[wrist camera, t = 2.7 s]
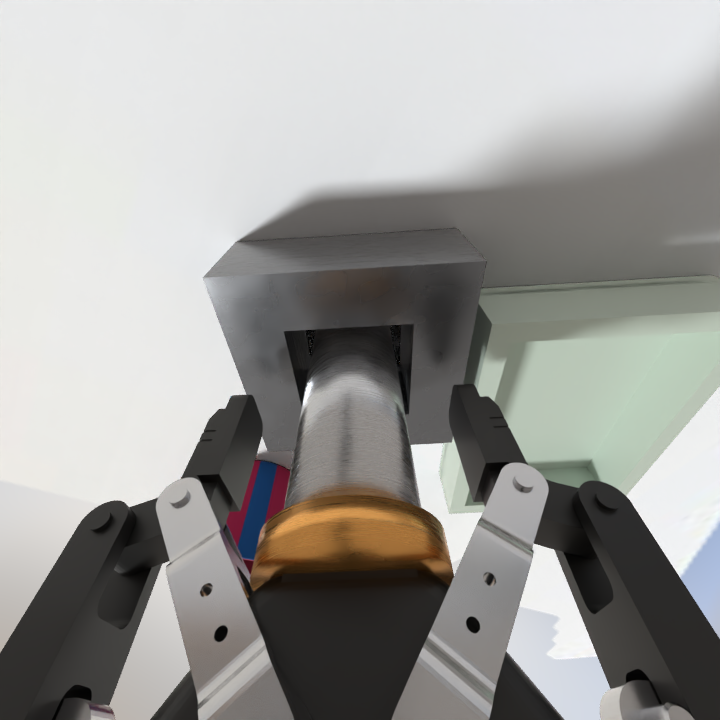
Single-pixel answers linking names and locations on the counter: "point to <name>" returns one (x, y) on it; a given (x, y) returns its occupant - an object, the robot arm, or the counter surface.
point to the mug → (258, 507)
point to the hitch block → (349, 316)
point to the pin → (351, 471)
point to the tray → (592, 374)
